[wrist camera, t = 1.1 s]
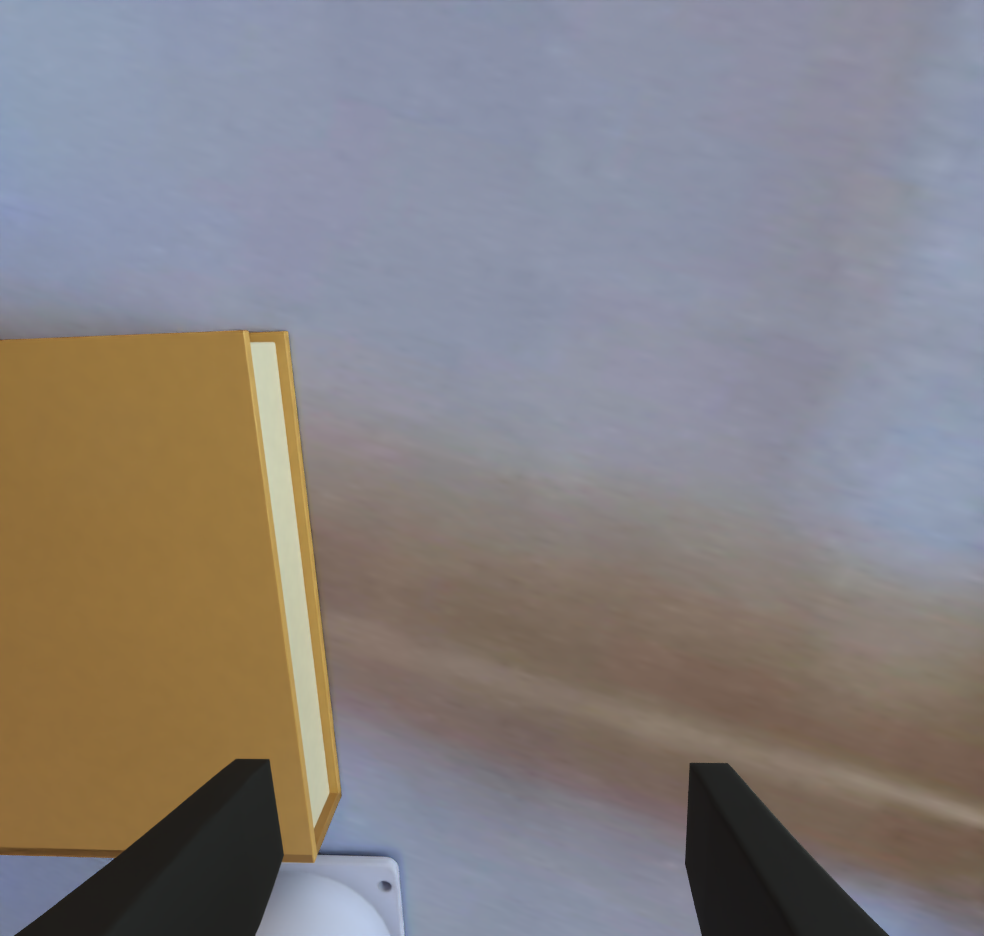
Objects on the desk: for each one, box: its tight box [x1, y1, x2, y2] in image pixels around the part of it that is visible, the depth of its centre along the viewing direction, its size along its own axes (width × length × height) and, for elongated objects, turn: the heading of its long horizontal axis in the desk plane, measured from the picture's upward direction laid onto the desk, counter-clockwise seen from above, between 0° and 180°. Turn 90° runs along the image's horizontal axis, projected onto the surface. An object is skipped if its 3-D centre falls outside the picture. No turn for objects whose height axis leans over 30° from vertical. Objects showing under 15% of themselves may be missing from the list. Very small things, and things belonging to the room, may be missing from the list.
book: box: [0, 330, 341, 863], centre depth 18 cm, size 17×12×3 cm
